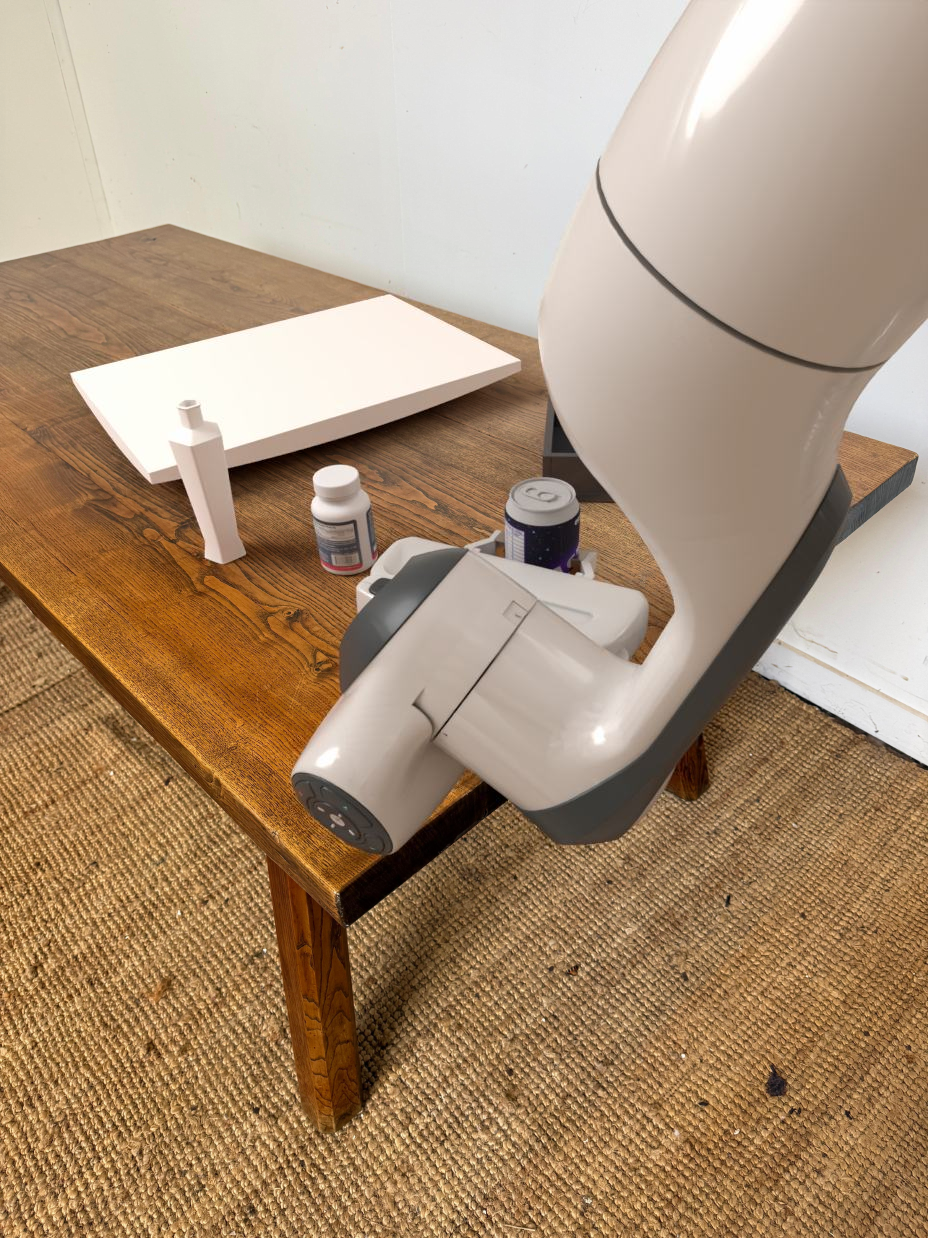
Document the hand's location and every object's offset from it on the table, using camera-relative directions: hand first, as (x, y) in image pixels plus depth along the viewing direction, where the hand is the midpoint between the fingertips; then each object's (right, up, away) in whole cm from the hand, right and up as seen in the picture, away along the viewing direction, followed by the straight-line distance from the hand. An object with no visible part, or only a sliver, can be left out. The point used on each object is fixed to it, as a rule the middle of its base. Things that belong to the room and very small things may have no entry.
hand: (545, 547), depth 69 cm
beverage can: (0, -6, +4) cm, 7 cm away
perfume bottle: (-29, +1, +14) cm, 32 cm away
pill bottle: (-17, 0, +12) cm, 21 cm away
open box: (+10, +11, +24) cm, 28 cm away
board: (-27, +21, +40) cm, 53 cm away
